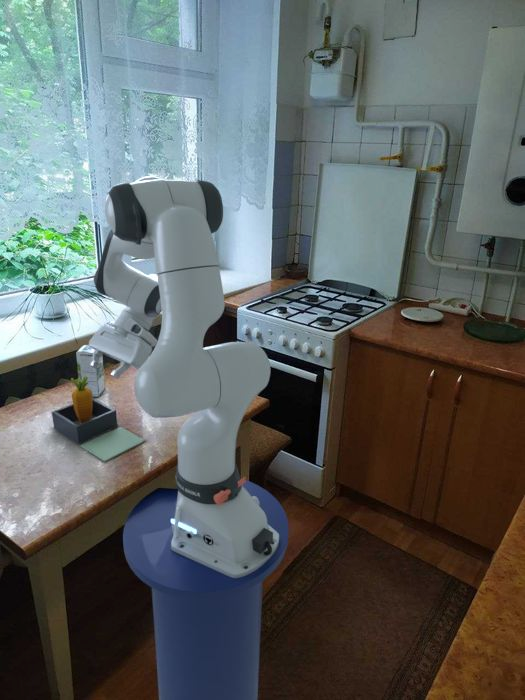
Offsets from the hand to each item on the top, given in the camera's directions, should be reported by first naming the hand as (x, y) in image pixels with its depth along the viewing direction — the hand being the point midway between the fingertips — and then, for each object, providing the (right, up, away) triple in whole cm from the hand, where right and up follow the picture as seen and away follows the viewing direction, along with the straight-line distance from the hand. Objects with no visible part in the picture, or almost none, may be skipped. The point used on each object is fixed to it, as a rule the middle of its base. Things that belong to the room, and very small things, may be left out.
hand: (103, 372), depth 132 cm
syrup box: (-9, -7, +19) cm, 22 cm away
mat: (+5, -18, -6) cm, 20 cm away
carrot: (-5, -15, 0) cm, 16 cm away
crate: (-5, -15, 0) cm, 15 cm away
